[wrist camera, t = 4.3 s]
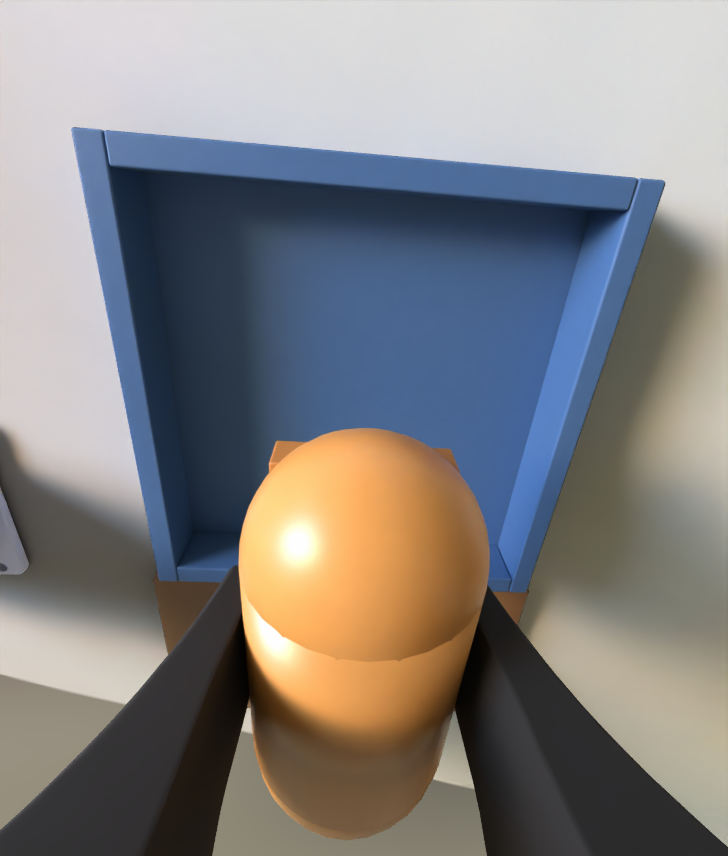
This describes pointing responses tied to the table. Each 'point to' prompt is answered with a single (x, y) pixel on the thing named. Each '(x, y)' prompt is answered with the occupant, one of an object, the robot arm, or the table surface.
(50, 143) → the table surface
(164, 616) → the bread board
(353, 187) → the bread tray
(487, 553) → the bread roll
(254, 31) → the table surface
